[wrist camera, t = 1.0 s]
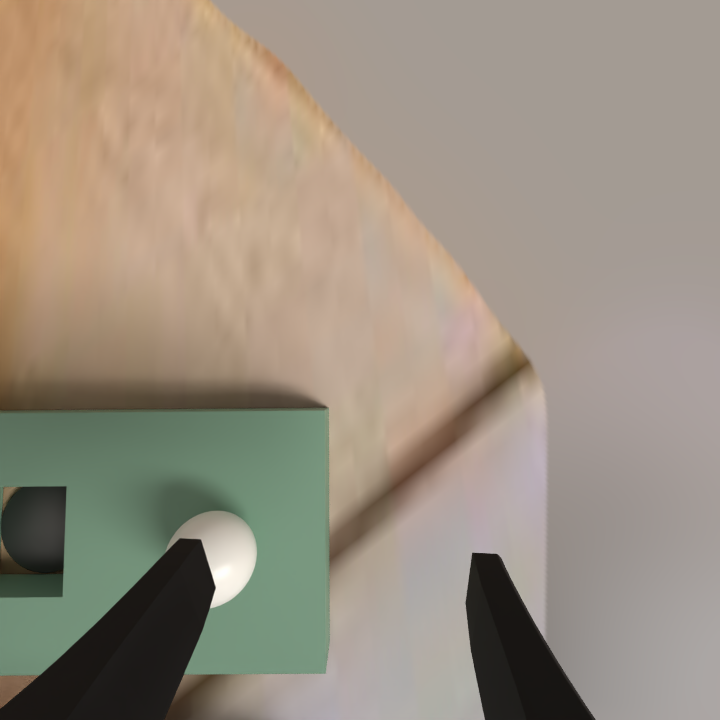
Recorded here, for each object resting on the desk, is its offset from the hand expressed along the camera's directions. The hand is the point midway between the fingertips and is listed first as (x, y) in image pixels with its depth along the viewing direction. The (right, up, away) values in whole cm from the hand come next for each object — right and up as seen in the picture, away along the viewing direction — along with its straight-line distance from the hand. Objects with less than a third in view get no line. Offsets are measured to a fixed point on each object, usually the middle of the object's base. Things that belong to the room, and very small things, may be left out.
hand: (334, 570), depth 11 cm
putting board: (-12, -4, +12) cm, 17 cm away
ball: (-6, -3, +7) cm, 10 cm away
